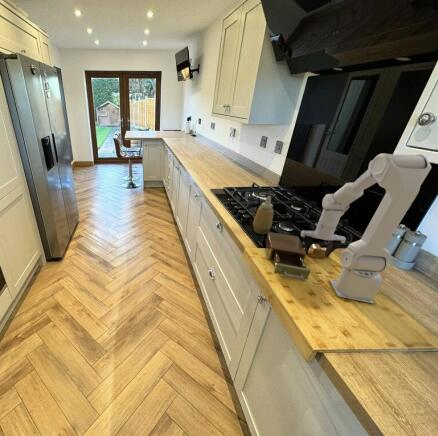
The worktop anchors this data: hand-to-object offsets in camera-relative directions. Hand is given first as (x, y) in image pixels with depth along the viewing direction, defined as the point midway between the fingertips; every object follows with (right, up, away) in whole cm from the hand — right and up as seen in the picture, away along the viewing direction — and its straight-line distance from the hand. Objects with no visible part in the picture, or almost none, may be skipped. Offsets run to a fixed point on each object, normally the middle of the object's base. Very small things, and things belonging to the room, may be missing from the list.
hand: (315, 253), depth 96 cm
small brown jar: (0, 0, +1) cm, 1 cm away
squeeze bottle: (-15, +8, +17) cm, 24 cm away
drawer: (-18, -4, -10) cm, 21 cm away
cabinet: (-14, 0, 0) cm, 14 cm away
